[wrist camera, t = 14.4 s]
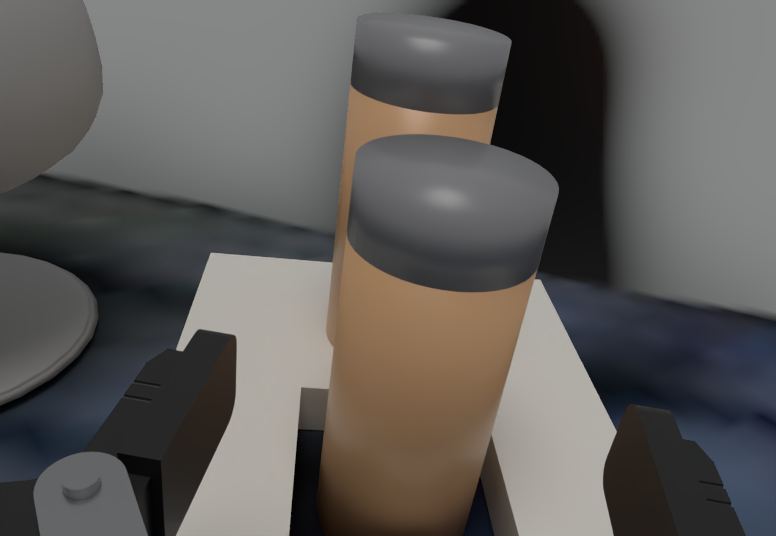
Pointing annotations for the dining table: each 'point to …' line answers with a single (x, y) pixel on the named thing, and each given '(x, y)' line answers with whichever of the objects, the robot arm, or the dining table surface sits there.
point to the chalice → (31, 158)
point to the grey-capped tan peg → (426, 329)
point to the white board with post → (320, 306)
